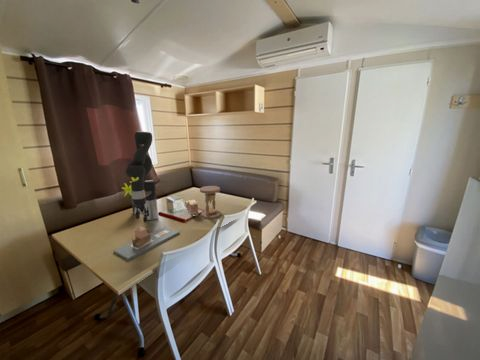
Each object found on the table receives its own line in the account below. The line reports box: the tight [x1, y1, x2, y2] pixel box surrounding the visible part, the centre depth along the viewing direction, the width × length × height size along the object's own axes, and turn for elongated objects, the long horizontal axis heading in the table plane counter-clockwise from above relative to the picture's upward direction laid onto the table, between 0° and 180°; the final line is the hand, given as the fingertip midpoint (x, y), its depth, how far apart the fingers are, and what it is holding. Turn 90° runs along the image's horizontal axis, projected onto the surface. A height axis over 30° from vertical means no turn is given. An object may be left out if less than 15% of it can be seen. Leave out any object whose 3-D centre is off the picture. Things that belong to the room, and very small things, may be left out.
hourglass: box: [199, 185, 222, 220], centre depth 177 cm, size 18×18×25 cm
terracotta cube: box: [134, 226, 148, 239], centre depth 130 cm, size 5×5×5 cm
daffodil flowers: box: [121, 177, 141, 216], centre depth 180 cm, size 17×15×35 cm
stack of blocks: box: [185, 199, 199, 217], centre depth 184 cm, size 21×6×12 cm, turn 27°
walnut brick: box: [131, 232, 151, 248], centre depth 131 cm, size 5×10×5 cm, turn 161°
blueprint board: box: [113, 226, 181, 262], centre depth 136 cm, size 16×38×2 cm, turn 148°
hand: (141, 220), depth 132 cm, fingers open, 8 cm apart
